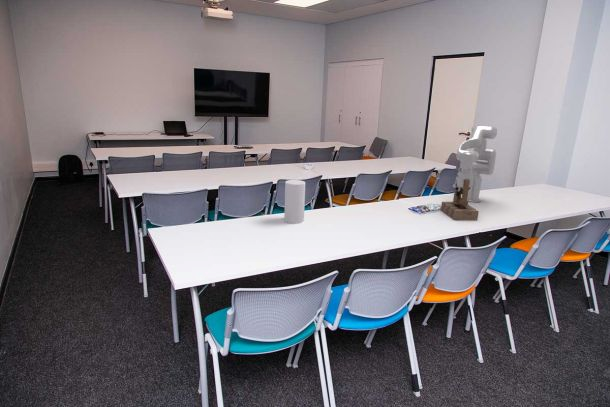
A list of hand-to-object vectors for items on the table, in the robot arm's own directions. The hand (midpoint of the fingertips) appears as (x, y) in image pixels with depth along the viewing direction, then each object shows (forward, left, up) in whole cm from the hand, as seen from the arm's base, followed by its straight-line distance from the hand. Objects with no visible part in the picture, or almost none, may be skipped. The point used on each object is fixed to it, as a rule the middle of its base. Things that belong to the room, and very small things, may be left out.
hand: (461, 196), depth 275 cm
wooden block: (0, 0, -6) cm, 6 cm away
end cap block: (0, 0, -14) cm, 14 cm away
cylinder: (+12, -116, -14) cm, 117 cm away
